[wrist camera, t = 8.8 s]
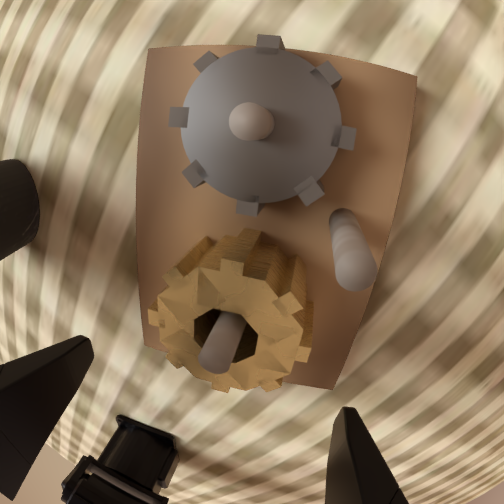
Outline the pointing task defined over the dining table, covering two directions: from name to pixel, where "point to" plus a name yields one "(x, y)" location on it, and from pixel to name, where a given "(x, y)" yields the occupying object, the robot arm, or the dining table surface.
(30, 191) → the travel mug
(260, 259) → the brass gear
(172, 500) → the dining table surface
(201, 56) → the gear board
